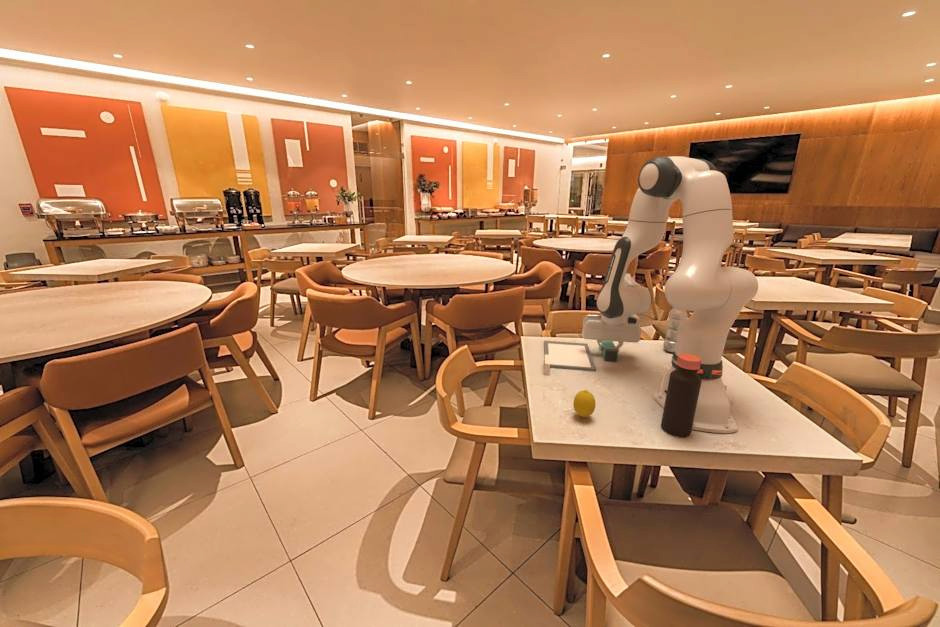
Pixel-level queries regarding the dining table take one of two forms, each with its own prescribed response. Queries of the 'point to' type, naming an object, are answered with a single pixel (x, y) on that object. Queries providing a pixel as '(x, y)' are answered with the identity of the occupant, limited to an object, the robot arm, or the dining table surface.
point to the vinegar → (682, 396)
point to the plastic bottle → (674, 328)
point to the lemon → (584, 403)
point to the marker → (609, 351)
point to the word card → (546, 364)
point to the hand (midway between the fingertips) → (608, 351)
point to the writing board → (569, 355)
